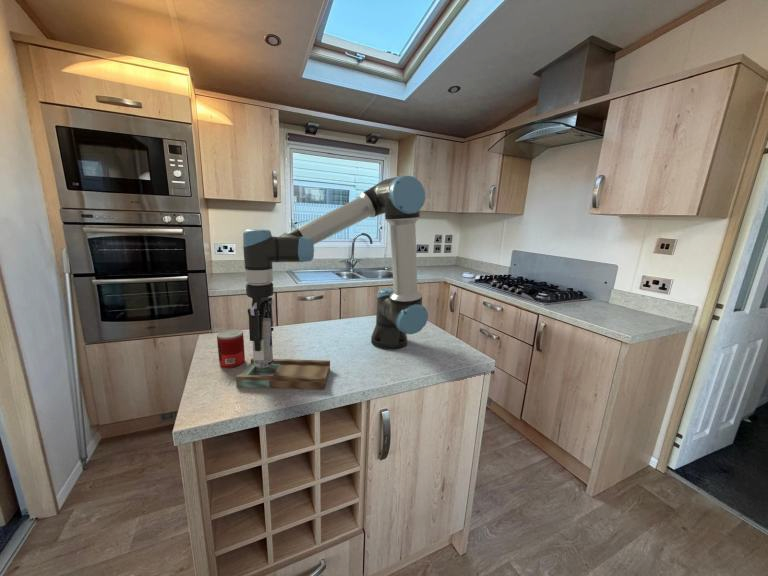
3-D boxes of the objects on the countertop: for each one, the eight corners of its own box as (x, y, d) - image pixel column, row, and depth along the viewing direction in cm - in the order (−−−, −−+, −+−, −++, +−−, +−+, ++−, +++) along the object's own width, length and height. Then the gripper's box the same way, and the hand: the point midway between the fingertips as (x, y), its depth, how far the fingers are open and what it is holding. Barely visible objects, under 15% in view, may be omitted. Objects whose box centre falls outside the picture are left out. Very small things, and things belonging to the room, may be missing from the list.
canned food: (249, 361, 108) (247, 332, 105) (228, 370, 101) (226, 339, 98) (236, 355, 111) (234, 327, 109) (214, 364, 105) (211, 334, 102)
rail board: (330, 370, 104) (330, 360, 104) (324, 389, 93) (324, 379, 92) (252, 367, 104) (251, 358, 103) (236, 387, 92) (235, 376, 91)
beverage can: (276, 364, 97) (274, 319, 94) (259, 370, 93) (256, 324, 90) (267, 358, 101) (265, 315, 97) (250, 364, 97) (247, 319, 93)
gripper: (258, 276, 100) (261, 342, 105) (232, 289, 82) (238, 369, 87) (281, 276, 100) (284, 343, 105) (260, 290, 82) (264, 369, 87)
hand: (263, 354), depth 96 cm, fingers closed on beverage can, 5 cm apart
